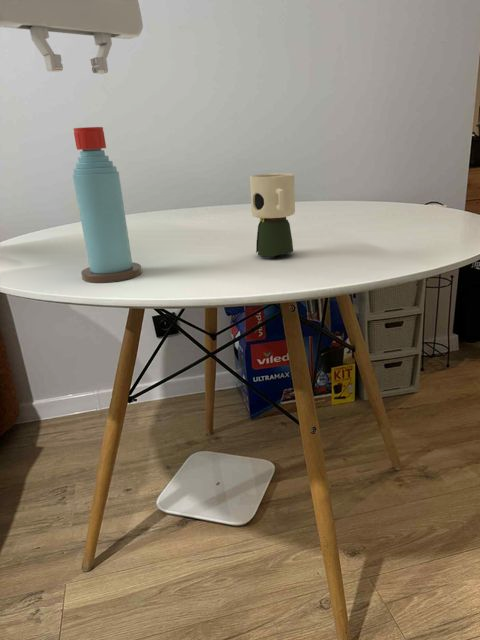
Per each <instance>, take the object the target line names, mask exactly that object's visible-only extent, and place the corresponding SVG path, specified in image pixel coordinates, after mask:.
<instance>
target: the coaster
mask: <svg viewBox="0 0 480 640" xmlns="http://www.w3.org/2000/svg"><path fill="white" fill-rule="evenodd" d="M132 264H133V267H132V268H130V269H128V270H125V271H121V272H116V273H106V274H100V273H93V272H91V271H90V266H88V267H86V268H83V269H82V270H81V272H80V274H81V279H82V280H83V281H84V282H87V283H94V284H104V283H105V284H106V283H117V282H122V281H126V280H131V279H134V278H137V277H138V276H141V274H143V273H142V272H143V269H142V265H141V264H140V263H137V262H133V261H132Z"/></svg>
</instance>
